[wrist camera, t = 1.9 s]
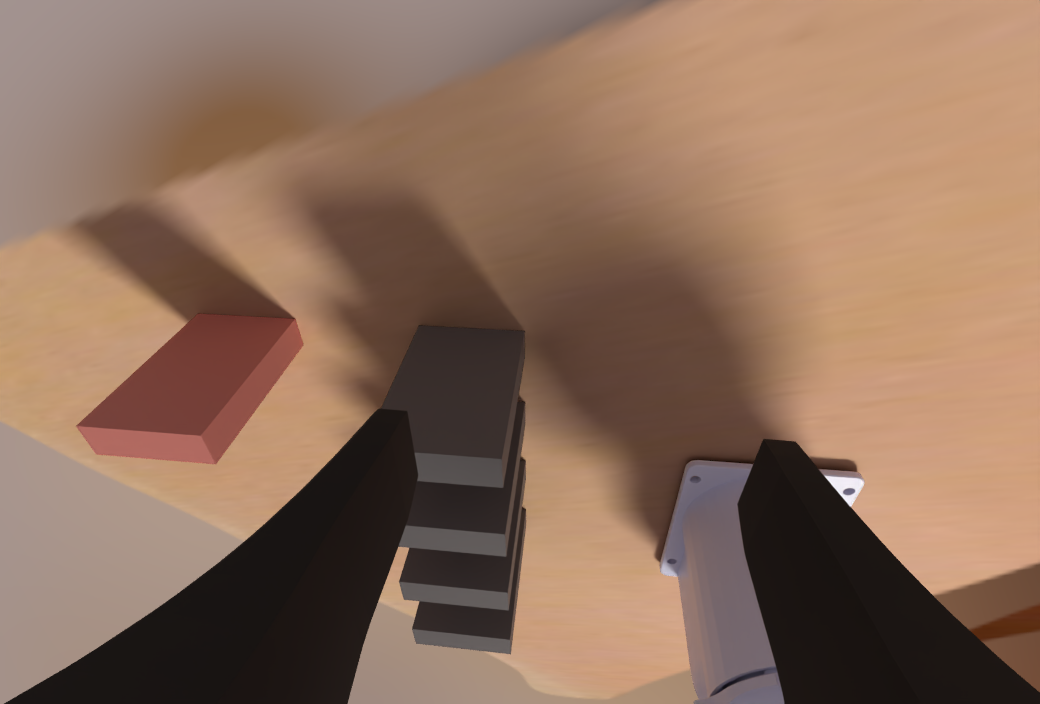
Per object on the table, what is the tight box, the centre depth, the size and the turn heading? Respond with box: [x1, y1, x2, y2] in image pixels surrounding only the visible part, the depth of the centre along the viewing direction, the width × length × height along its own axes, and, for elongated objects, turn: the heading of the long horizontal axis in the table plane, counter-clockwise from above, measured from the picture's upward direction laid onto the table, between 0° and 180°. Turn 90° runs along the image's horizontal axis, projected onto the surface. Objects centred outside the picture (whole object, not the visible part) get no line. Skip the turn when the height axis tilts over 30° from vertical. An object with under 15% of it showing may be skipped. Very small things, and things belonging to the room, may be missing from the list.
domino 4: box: [412, 509, 526, 654], centre depth 27 cm, size 1×4×7 cm, turn 91°
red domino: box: [76, 314, 303, 464], centre depth 21 cm, size 1×4×7 cm, turn 90°
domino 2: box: [398, 402, 525, 557], centre depth 22 cm, size 1×4×7 cm, turn 91°
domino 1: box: [381, 326, 525, 488], centre depth 20 cm, size 1×4×7 cm, turn 91°
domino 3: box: [399, 460, 526, 610], centre depth 25 cm, size 1×4×7 cm, turn 91°
